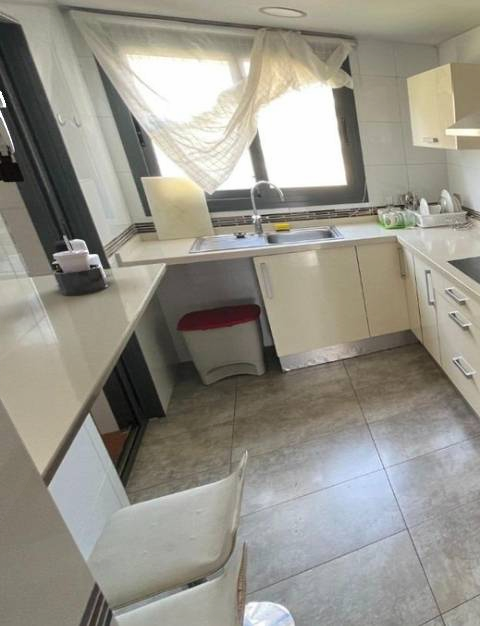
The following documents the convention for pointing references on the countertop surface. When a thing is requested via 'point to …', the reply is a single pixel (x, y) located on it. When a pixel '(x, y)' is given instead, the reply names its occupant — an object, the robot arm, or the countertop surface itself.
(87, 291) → the stand
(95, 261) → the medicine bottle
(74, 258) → the smoothie
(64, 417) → the countertop surface
